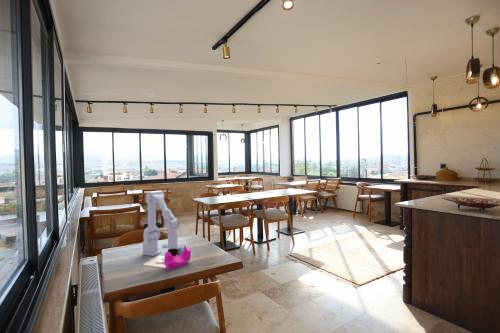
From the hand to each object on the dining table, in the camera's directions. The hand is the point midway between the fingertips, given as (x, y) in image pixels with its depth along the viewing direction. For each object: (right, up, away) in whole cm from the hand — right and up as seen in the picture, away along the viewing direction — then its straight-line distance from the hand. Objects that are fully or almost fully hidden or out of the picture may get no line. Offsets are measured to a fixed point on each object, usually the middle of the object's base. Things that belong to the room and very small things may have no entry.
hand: (173, 260), depth 170 cm
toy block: (+3, -1, -2) cm, 4 cm away
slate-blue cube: (0, -1, +18) cm, 18 cm away
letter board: (-8, -2, +3) cm, 9 cm away
